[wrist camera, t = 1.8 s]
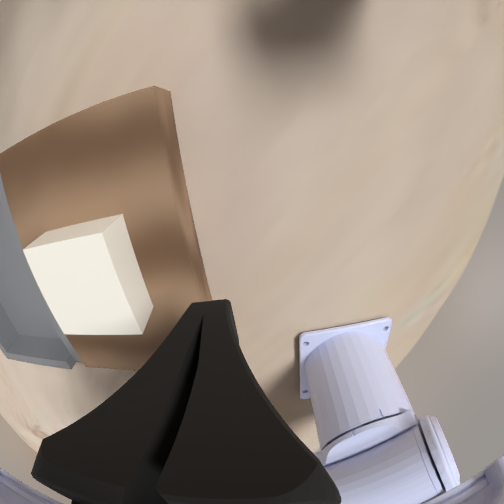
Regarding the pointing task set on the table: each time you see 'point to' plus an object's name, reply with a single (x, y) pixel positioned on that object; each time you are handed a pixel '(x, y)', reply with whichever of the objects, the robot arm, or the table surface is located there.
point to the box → (26, 306)
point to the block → (91, 278)
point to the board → (115, 206)
